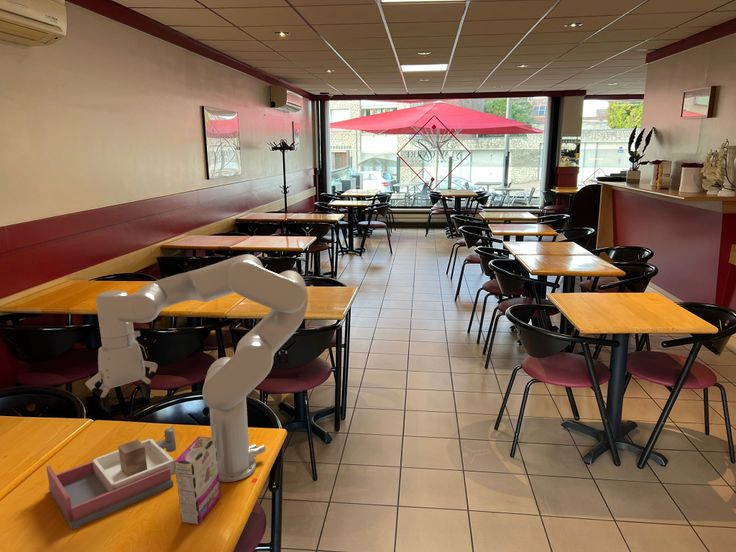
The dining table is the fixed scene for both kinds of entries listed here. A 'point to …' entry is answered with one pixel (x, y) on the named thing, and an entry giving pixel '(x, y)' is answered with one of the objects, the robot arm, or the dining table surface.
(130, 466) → the walnut block
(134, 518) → the dining table surface
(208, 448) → the candy bar box
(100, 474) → the white tray
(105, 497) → the bay
